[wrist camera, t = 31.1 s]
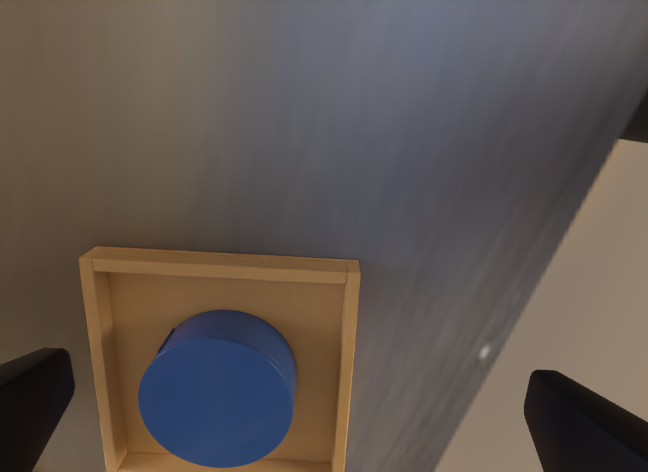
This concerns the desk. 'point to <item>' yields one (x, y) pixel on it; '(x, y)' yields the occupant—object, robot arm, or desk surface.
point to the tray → (221, 294)
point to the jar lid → (220, 389)
